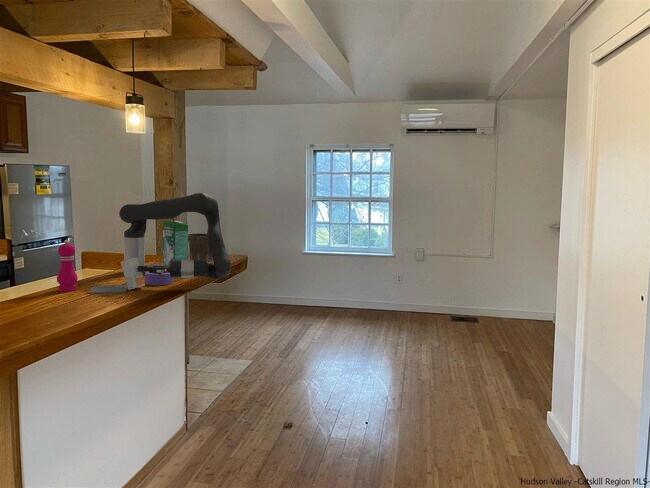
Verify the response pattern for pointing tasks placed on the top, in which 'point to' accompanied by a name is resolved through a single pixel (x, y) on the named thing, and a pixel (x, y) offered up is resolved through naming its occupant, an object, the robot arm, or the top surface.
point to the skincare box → (132, 273)
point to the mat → (109, 289)
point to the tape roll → (158, 279)
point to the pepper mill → (66, 268)
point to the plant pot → (199, 247)
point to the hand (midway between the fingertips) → (137, 268)
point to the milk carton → (175, 241)
